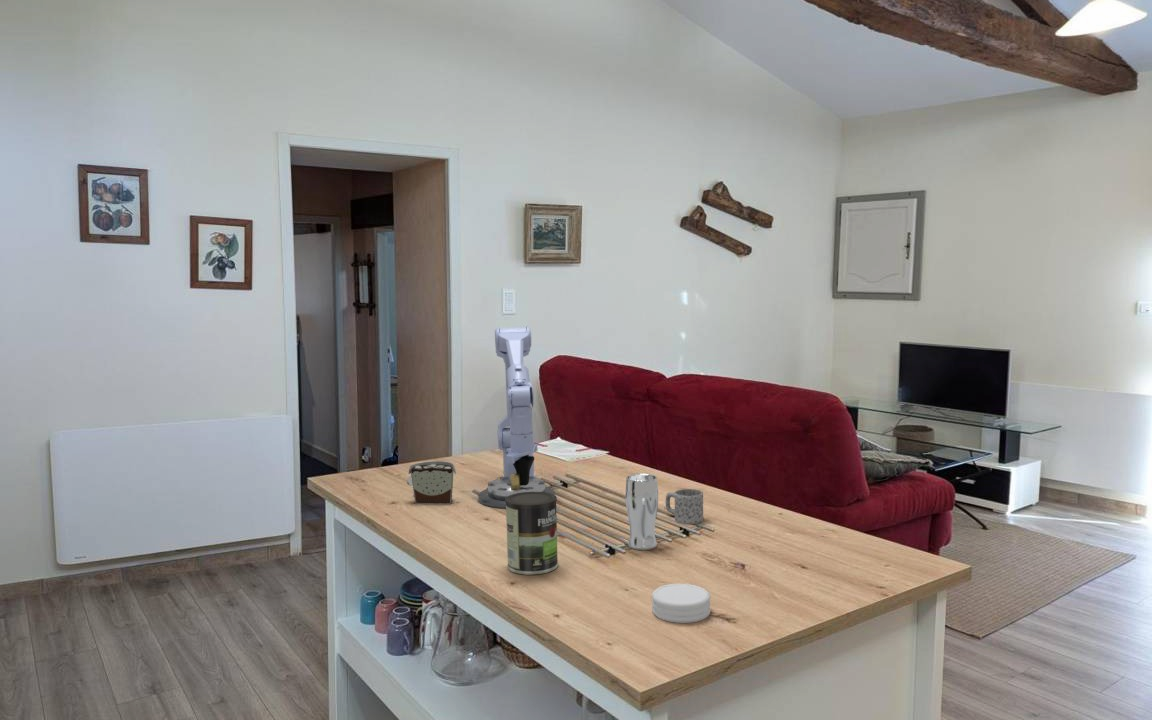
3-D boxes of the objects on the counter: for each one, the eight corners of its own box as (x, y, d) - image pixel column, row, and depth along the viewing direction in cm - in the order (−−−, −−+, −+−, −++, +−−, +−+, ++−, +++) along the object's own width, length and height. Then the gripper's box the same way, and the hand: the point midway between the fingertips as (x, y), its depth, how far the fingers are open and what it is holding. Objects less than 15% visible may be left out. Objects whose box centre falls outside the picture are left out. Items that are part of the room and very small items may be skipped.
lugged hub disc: (545, 484, 227) (544, 461, 227) (545, 499, 212) (544, 474, 212) (489, 486, 227) (488, 463, 226) (486, 501, 212) (485, 476, 211)
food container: (462, 498, 221) (460, 460, 220) (456, 504, 215) (455, 466, 214) (416, 497, 222) (415, 460, 221) (409, 504, 216) (408, 466, 215)
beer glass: (637, 553, 175) (636, 482, 173) (620, 544, 181) (619, 476, 179) (665, 547, 178) (664, 478, 176) (647, 538, 184) (646, 471, 183)
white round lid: (645, 620, 142) (644, 600, 141) (660, 598, 151) (660, 579, 151) (703, 628, 138) (703, 607, 138) (715, 605, 147) (715, 586, 147)
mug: (708, 519, 198) (708, 491, 197) (692, 526, 193) (692, 497, 192) (674, 511, 204) (674, 485, 204) (657, 518, 199) (657, 490, 199)
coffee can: (568, 562, 170) (566, 494, 169) (539, 578, 161) (537, 507, 160) (526, 554, 176) (524, 488, 174) (496, 569, 167) (494, 500, 165)
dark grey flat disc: (500, 485, 233) (500, 481, 233) (566, 491, 225) (566, 486, 225) (464, 504, 214) (464, 499, 214) (535, 511, 207) (534, 506, 207)
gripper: (519, 426, 221) (521, 476, 222) (494, 437, 207) (496, 490, 209) (544, 427, 218) (545, 478, 220) (519, 439, 205) (521, 493, 206)
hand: (523, 484), depth 214 cm, fingers closed, pressing on lugged hub disc
